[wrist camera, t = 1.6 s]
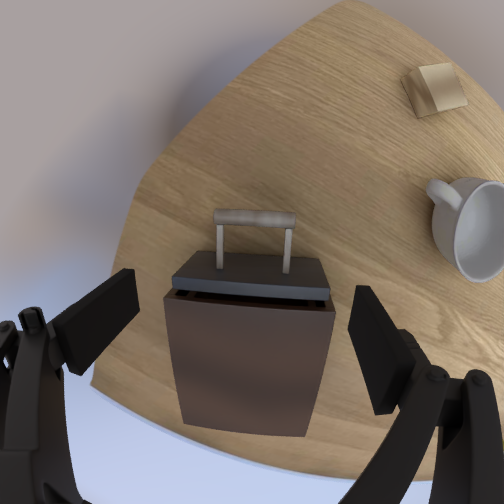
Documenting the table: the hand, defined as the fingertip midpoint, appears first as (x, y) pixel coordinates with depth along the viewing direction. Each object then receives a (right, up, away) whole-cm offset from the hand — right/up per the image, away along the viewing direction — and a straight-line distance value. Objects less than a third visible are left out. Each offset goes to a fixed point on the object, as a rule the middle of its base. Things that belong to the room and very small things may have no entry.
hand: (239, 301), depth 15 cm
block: (+21, +21, +9) cm, 31 cm away
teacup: (+24, +8, +12) cm, 28 cm away
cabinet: (+1, -7, +19) cm, 21 cm away
